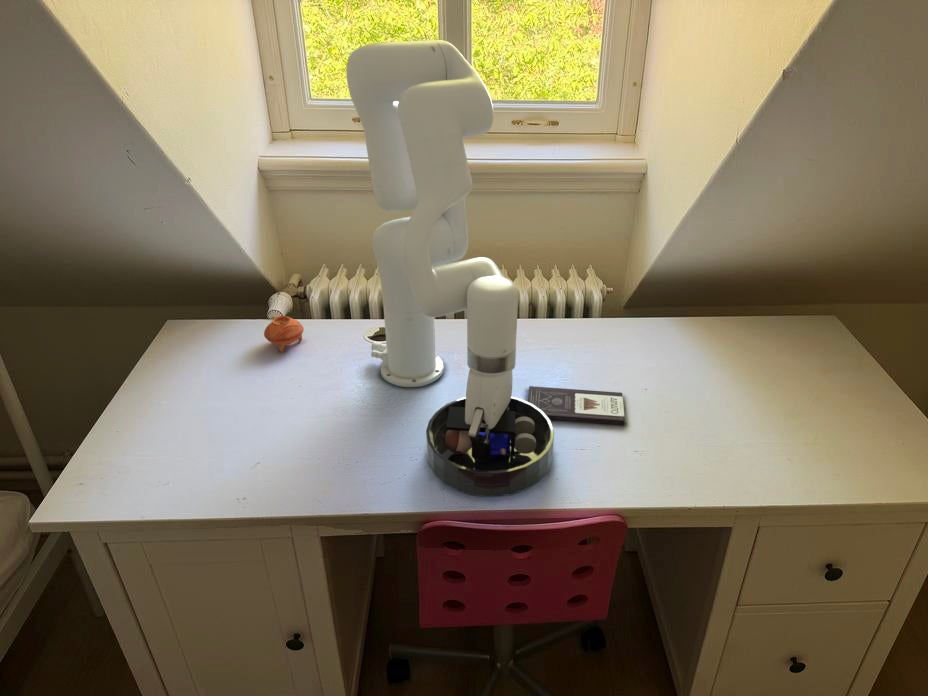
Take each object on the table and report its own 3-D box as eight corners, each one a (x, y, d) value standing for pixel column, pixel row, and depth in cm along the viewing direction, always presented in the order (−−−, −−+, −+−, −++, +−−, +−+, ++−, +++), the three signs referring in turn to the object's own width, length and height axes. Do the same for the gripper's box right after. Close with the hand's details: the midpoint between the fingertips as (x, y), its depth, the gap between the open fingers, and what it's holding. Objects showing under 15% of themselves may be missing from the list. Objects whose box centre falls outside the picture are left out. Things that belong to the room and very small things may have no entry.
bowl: (406, 479, 113) (404, 453, 110) (457, 408, 129) (456, 383, 126) (529, 513, 107) (531, 486, 104) (566, 434, 124) (568, 409, 121)
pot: (304, 353, 143) (292, 325, 139) (269, 360, 144) (255, 333, 140) (312, 332, 149) (300, 306, 145) (278, 339, 150) (265, 313, 146)
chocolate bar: (529, 386, 134) (622, 392, 133) (529, 390, 135) (621, 396, 134) (526, 413, 127) (624, 420, 126) (526, 417, 127) (624, 424, 126)
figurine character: (530, 445, 121) (445, 436, 120) (537, 410, 117) (449, 401, 116) (531, 470, 116) (442, 461, 114) (539, 435, 112) (446, 425, 110)
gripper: (489, 325, 115) (487, 410, 125) (446, 379, 101) (449, 470, 111) (531, 334, 113) (527, 420, 123) (494, 390, 99) (492, 481, 109)
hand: (490, 443), depth 117 cm, fingers closed on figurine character, 7 cm apart
